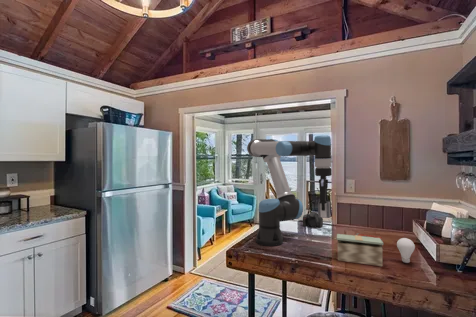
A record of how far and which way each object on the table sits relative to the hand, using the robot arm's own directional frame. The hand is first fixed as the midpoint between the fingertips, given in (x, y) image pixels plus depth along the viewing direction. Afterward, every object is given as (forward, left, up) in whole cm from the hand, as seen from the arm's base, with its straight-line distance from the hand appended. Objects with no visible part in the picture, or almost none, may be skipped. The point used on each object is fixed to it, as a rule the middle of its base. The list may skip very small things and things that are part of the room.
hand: (324, 215), depth 122 cm
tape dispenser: (+18, +18, -20) cm, 32 cm away
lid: (+15, +1, -10) cm, 18 cm away
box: (+15, +1, -19) cm, 24 cm away
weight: (0, 0, 0) cm, 0 cm away
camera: (-11, +48, -19) cm, 53 cm away
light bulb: (+34, +3, -19) cm, 39 cm away
